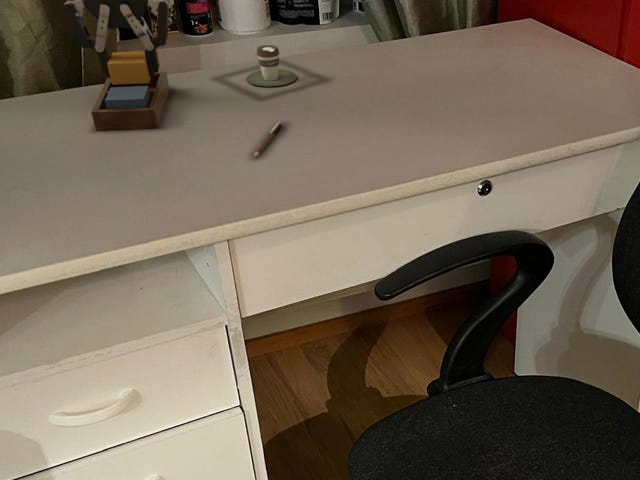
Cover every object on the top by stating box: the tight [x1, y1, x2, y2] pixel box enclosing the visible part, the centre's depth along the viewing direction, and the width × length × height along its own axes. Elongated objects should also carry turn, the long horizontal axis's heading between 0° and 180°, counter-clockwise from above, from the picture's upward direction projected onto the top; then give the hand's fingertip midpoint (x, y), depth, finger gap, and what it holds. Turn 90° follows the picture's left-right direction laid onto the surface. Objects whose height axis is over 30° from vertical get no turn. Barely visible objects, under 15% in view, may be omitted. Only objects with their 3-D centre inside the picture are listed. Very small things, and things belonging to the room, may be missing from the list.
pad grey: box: [105, 86, 151, 110], centre depth 119 cm, size 5×5×3 cm
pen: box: [253, 121, 283, 158], centre depth 115 cm, size 11×1×1 cm, turn 173°
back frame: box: [90, 71, 170, 131], centre depth 123 cm, size 8×15×3 cm, turn 10°
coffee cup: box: [246, 44, 298, 88], centre depth 133 cm, size 12×12×5 cm
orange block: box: [107, 50, 151, 85], centre depth 123 cm, size 5×5×3 cm
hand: (132, 75), depth 124 cm, fingers closed on orange block, 5 cm apart
